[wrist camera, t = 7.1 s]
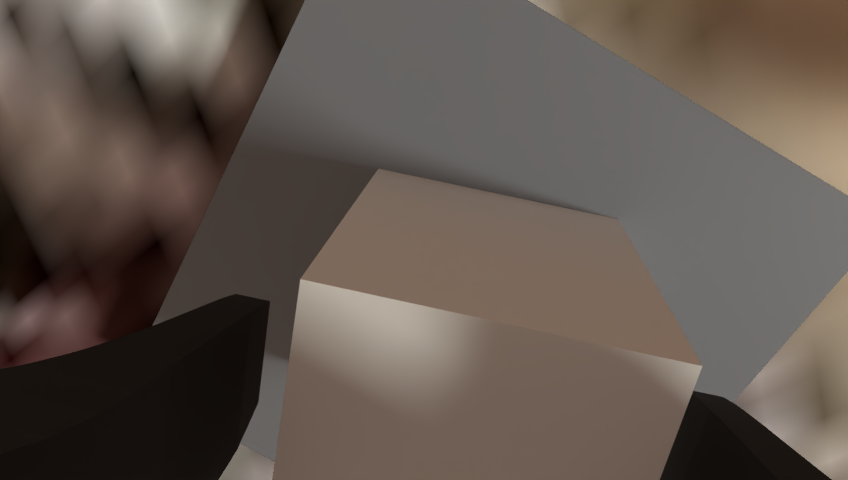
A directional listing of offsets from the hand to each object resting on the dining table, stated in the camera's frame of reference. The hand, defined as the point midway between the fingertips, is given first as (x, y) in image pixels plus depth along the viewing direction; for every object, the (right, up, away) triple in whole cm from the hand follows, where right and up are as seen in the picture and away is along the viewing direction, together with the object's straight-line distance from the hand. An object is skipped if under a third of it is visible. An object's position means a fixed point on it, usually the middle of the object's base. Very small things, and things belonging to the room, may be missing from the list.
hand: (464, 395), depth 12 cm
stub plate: (0, +2, +5) cm, 5 cm away
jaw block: (0, +1, +3) cm, 3 cm away
